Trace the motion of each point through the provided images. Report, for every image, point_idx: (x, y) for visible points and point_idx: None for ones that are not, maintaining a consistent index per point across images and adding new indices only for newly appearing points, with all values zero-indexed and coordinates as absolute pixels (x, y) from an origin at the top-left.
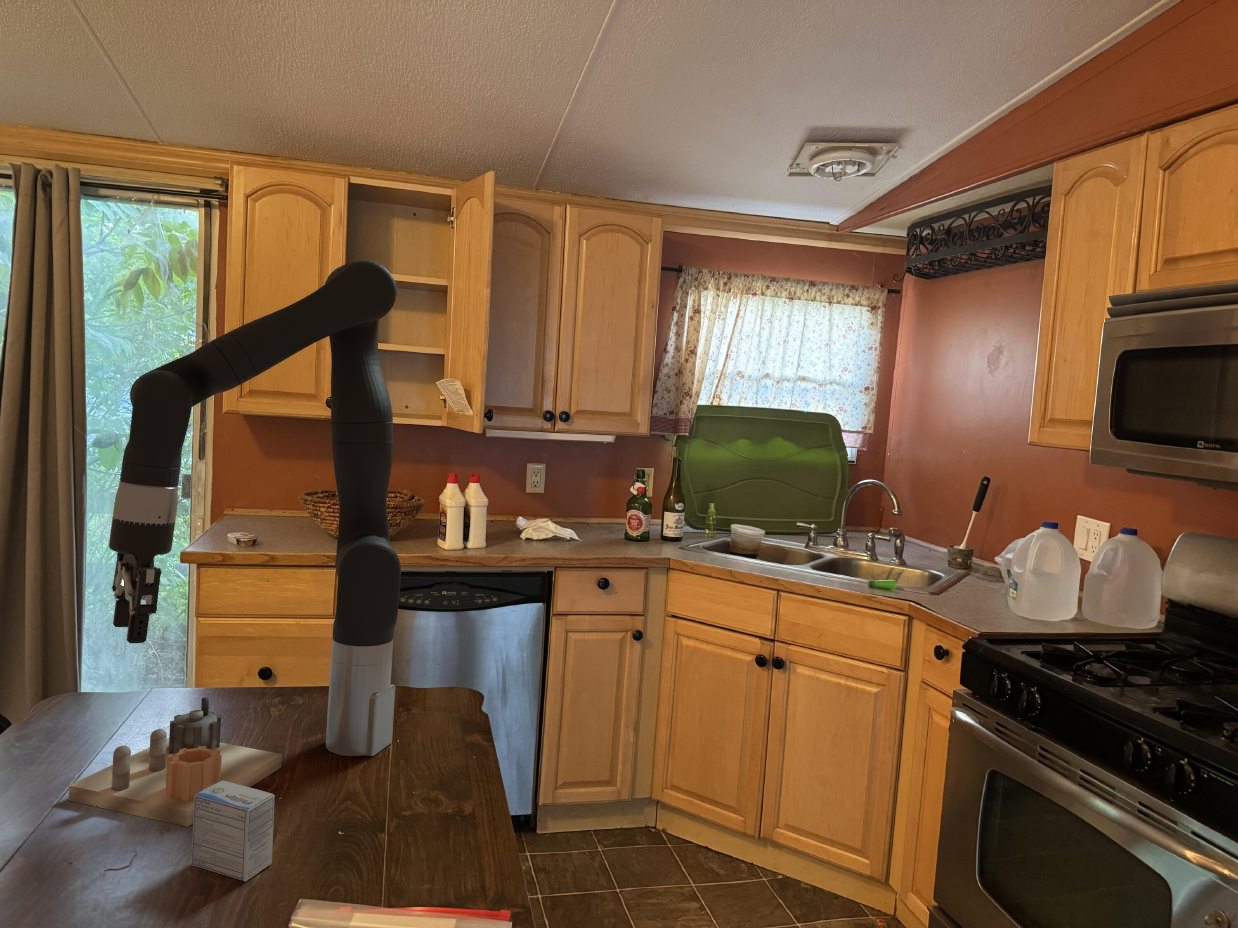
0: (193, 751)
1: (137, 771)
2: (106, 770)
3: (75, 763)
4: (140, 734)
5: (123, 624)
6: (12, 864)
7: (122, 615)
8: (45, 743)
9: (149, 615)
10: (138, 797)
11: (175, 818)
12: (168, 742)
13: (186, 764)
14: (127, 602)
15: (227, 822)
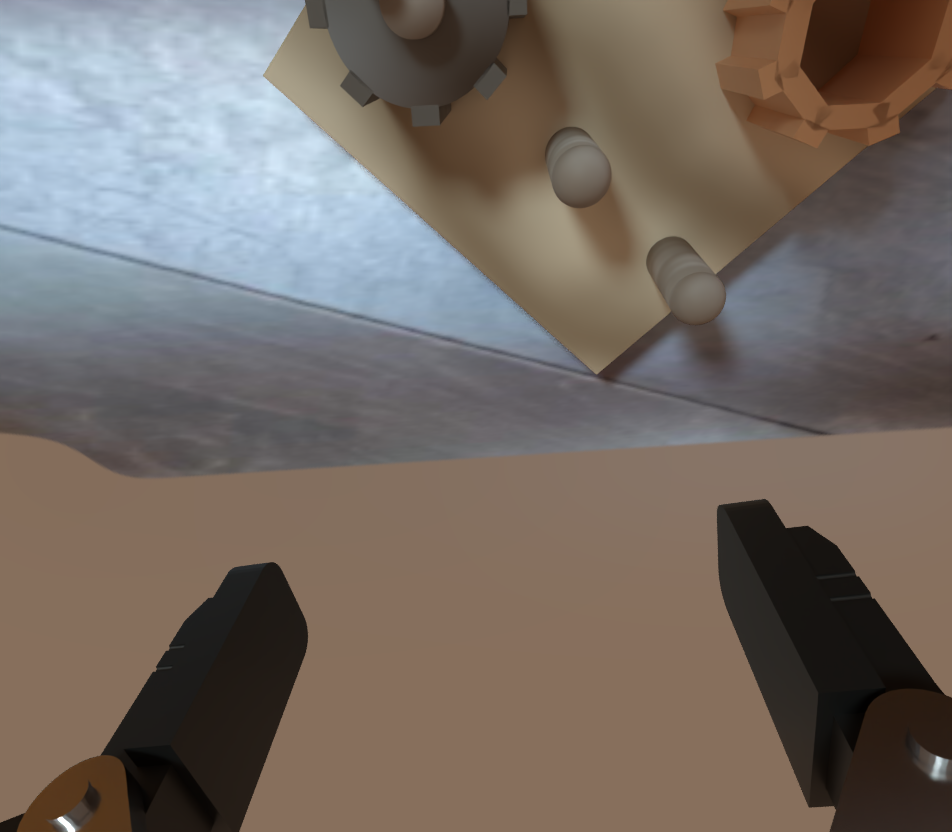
0: (804, 34)
1: (571, 213)
2: (529, 295)
3: (362, 350)
4: (158, 190)
5: (286, 606)
6: (855, 430)
7: (266, 675)
8: (218, 415)
9: (879, 685)
10: (768, 211)
11: None
12: (344, 109)
13: (940, 73)
14: (203, 768)
15: None
